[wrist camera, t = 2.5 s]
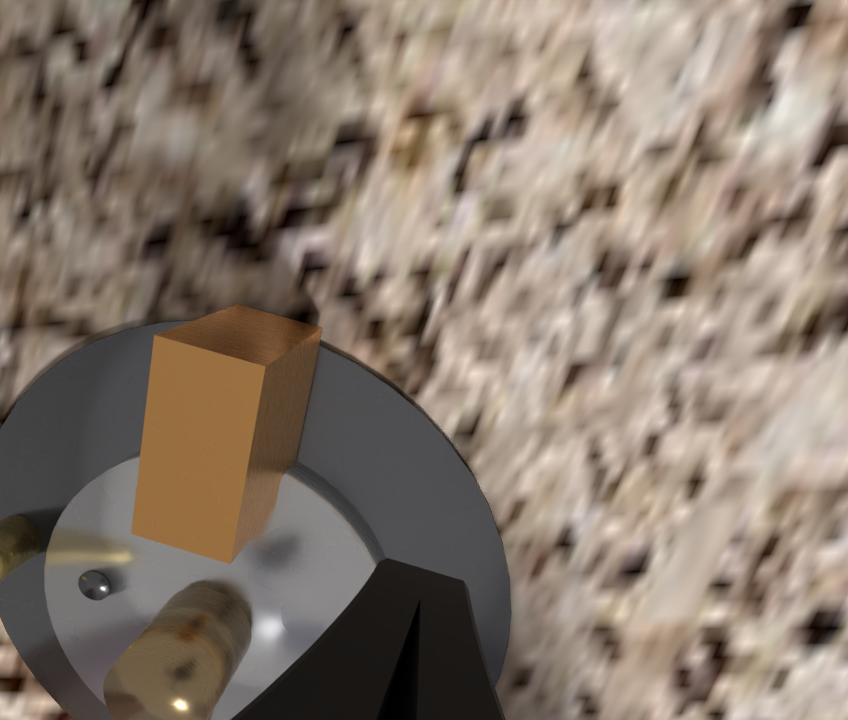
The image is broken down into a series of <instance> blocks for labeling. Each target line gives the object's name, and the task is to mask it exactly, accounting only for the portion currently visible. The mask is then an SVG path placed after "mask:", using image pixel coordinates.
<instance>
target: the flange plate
mask: <svg viewBox="0 0 848 720" xmlns="http://www.w3.org/2000/svg"><path fill="white" fill-rule="evenodd" d="M322 329H323V328H321V327H318V326H314V325H310V324H307V323H303V322H300V321H296V320H292V319H289V318H285V317H282V316H278V315H274V314H271V313H267V312H264V311H260V310H256V309H253V308H249V307H246V306H242V305H238V304H236V305H234V306H231V307H228V308H226V309H223V310H220V311H217V312H215V313H212V314H209V315H207V316H204V317H201V318H199V319H196V320H193V321H191V322H188V323H185V324H182V325H180V326H177V327H174V328H172V329H169V330H166V331H164V332H161V333H158V334H156V335H154V342H153V350H152V359H151V367H150V376H149V384H148V393H147V401H146V410H145V418H144V427H143V436H142V444H141V450H140V451H138V452H136V453H134V454H132V455H130V456H128V457H127V458H125V459H124V460H122V461H121V462H119V463H118V464H116V465H115V466H113V467H112V468H110V469H109V470H107V471H106V472H104V473H103V474H101V475H100V476H98V477H97V478H96V479H94V480H93V481H91V482H90V483H88V484H87V485H86V486H85V487H84V488H83V489H82V490H81V491H80V492H79V493H78V494H77V495H76V496H75V497H74V498H73V499H72V500H71V502H70V503H69V504H68V506H67V507H66V508H65V510H64V511H63V513H62V514H61V516H60V518H59V520H58V522H57V524H56V526H55V528H54V530H53V532H52V536H51V539H50V542H49V545H48V548H47V554H46V561H45V568H44V581H45V595H46V602H47V608H48V612H49V615H50V619H51V622H52V626H53V629H54V631H55V633H56V636H57V638H58V641H59V643H60V645H61V647H62V649H63V651H64V653H65V654H66V656H67V658H68V660H69V662H70V663H71V665H72V666H73V668H74V669H75V671H76V672H77V673H78V675H79V676H80V678H81V679H82V681H83V682H84V683H85V684H86V685H87V686H88V688H89V689H90V690H91V691H92V692H93V693H94V694H95V696H96V697H97V698H98V699H99V700H100V701H101V702H103V703H104V704H105V705H106V703H105V699H104V694H103V684H104V680H105V677H106V675H107V673H108V671H109V670H110V669H111V667H112V666H113V665H114V664H115V663H116V662H117V660H118V659H119V658H120V657H121V656H122V654H123V653H124V652H125V651H126V650H127V649H128V647H129V646H130V645H131V644H132V643H133V642H134V640H135V639H136V638H137V637H138V636H139V634H140V633H141V632H142V631H143V630H144V629H145V627H146V626H147V625H148V624H149V623H150V622H151V620H152V619H153V618H154V617H155V616H156V614H157V613H158V612H159V611H160V610H161V609H162V607H163V606H164V605H165V604H166V603H167V601H168V600H169V599H170V598H171V597H172V596H173V595H174V594H176V593H177V592H179V591H181V590H184V589H187V588H192V587H204V588H209V589H213V590H216V591H219V592H221V593H223V594H225V595H226V596H228V597H229V598H231V599H232V600H233V601H235V602H236V603H237V604H238V605H239V606H240V608H241V609H242V610H243V612H244V613H245V615H246V616H247V619H248V621H249V623H250V627H251V635H252V637H251V644H250V647H249V649H248V651H247V653H246V655H245V656H244V658H243V660H242V662H241V663H240V665H239V667H238V668H237V670H236V672H235V674H234V675H233V677H232V679H231V681H230V682H229V684H228V686H227V688H226V689H225V691H224V693H223V695H222V696H221V698H220V700H219V701H218V703H217V705H216V707H215V708H214V710H213V712H212V714H211V715H210V717H209V719H208V720H230V719H232V718H233V717H234V716H235V715H236V714H238V713H239V712H240V711H241V710H242V709H244V708H245V707H246V706H247V705H248V704H249V703H251V702H252V701H253V700H254V699H255V698H256V697H257V696H259V695H260V694H261V693H262V692H263V691H264V690H265V689H266V688H268V687H269V686H270V685H271V684H272V683H273V682H274V681H275V680H276V679H277V678H278V677H279V676H280V675H281V674H282V673H283V672H284V671H286V670H287V669H288V668H289V667H290V666H291V665H292V664H293V663H294V662H295V661H296V660H297V659H298V658H299V657H300V656H301V655H302V654H303V653H304V652H305V651H306V650H307V649H308V648H309V647H310V646H311V645H312V644H313V643H314V642H315V641H316V640H317V639H318V638H319V637H320V636H321V635H322V634H323V633H324V632H325V630H326V629H327V628H328V627H329V626H330V625H331V624H332V623H333V622H334V621H335V619H336V618H337V617H338V616H339V615H340V614H341V613H342V612H343V611H344V609H345V608H346V607H347V606H348V605H349V603H350V602H351V601H352V600H353V599H354V597H355V596H356V595H357V594H358V592H359V591H360V590H361V588H362V587H363V586H364V584H365V583H366V582H367V580H368V579H369V577H370V576H371V574H372V573H373V571H374V569H375V568H376V566H377V564H378V562H379V561H381V560H384V559H386V557H385V555H384V552H383V550H382V547H381V545H380V544H379V542H378V540H377V538H376V537H375V535H374V533H373V531H372V530H371V528H370V527H369V525H368V524H367V522H366V521H365V520H364V518H363V517H362V516H361V514H360V513H359V512H358V510H357V509H356V508H355V507H354V506H353V505H352V504H351V503H350V502H349V501H348V500H347V499H346V498H345V496H344V495H343V494H342V493H341V492H340V491H338V490H337V489H336V488H335V487H334V486H332V485H331V484H330V483H329V482H328V481H326V480H325V479H324V478H323V477H322V476H320V475H318V474H317V473H315V472H314V471H312V470H311V469H309V468H308V467H306V466H305V465H303V464H302V463H300V462H298V461H296V457H297V452H298V447H299V442H300V437H301V432H302V427H303V422H304V417H305V412H306V408H307V403H308V398H309V393H310V388H311V383H312V378H313V373H314V368H315V363H316V358H317V353H318V348H319V343H320V339H321V334H322ZM106 706H107V705H106Z"/></svg>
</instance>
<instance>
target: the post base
mask: <svg viewBox="0 0 848 720" xmlns="http://www.w3.org/2000/svg"><path fill="white" fill-rule="evenodd" d="M191 321H193V320H184V321H167V322H161V323H156V324H151V325H146V326H141V327H136V328H131V329H128V330H125V331H122V332H119V333H117V334H114V335H111V336H108V337H106V338H103V339H100V340H98V341H95V342H92V343H91V344H89V345H87V346H85V347H84V348H82V349H80V350H78V351H76V352H75V353H73V354H71V355H69V356H67V357H66V358H64V359H63V360H61V361H60V362H59V363H58V364H56V365H55V366H54V367H53V368H51V369H50V370H49V371H47V372H46V373H45V374H44V375H42V376H41V377H40V378H39V379H38V380H37V381H36V382H35V383H34V384H33V385H32V386H31V388H30V389H29V390H28V391H27V392H26V393H25V394H24V395H23V396H22V397H21V399H20V400H19V401H18V402H17V404H16V405H15V407H14V408H13V410H12V411H11V413H10V414H9V416H8V418H7V419H6V421H5V422H4V424H3V425H2V427H1V429H0V618H1V620H2V622H3V625H4V627H5V629H6V632H7V633H8V635H9V637H10V639H11V640H12V642H13V644H14V645H15V647H16V649H17V651H18V652H19V654H20V656H21V658H22V659H23V661H24V662H25V663H26V665H27V666H28V667H29V669H30V670H31V672H32V673H33V674H34V676H35V677H36V679H37V680H38V681H39V683H40V684H41V685H42V686H43V687H44V689H45V690H46V691H47V692H48V693H49V694H50V695H51V696H52V698H53V699H54V700H55V701H56V702H57V703H58V704H59V705H60V707H61V708H62V709H63V710H64V711H66V712H67V713H68V714H69V715H70V716H71V717H72V718H73V719H74V720H208V719H209V717H210V715H211V714H212V712H213V710H214V708H215V707H216V705H217V703H218V701H219V700H220V698H221V696H222V695H223V693H224V691H225V689H226V688H227V686H228V684H229V682H230V681H231V679H232V677H233V675H234V674H235V672H236V670H237V668H238V667H239V665H240V663H241V662H242V660H243V658H244V656H245V655H246V653H247V651H248V649H249V647H250V644H251V637H252V635H251V627H250V623H249V621H248V619H247V616H246V615H245V613H244V612H243V610H242V609H241V608H240V606H239V605H238V604H237V603H236V602H235V601H233V600H232V599H231V598H229V597H228V596H226V595H225V594H223V593H221V592H219V591H216V590H213V589H209V588H204V587H192V588H187V589H184V590H181V591H179V592H177V593H176V594H174V595H173V596H172V597H171V598H170V599H169V600H168V601H167V603H166V604H165V605H164V606H163V607H162V609H161V610H160V611H159V612H158V613H157V614H156V616H155V617H154V618H153V619H152V620H151V622H150V623H149V624H148V625H147V626H146V627H145V629H144V630H143V631H142V632H141V633H140V634H139V636H138V637H137V638H136V639H135V640H134V642H133V643H132V644H131V645H130V646H129V647H128V649H127V650H126V651H125V652H124V653H123V654H122V656H121V657H120V658H119V659H118V660H117V662H116V663H115V664H114V665H113V666H112V667H111V669H110V670H109V671H108V673H107V675H106V677H105V680H104V684H103V694H104V699H105V703H106V705H107V706H106V705H105V704H104V703H103V702H101V701H100V700H99V699H98V698H97V697H96V696H95V694H94V693H93V692H92V691H91V690H90V689H89V688H88V686H87V685H86V684H85V683H84V682H83V681H82V679H81V678H80V676H79V675H78V673H77V672H76V671H75V669H74V668H73V666H72V665H71V663H70V662H69V660H68V658H67V656H66V654H65V653H64V651H63V649H62V647H61V645H60V643H59V641H58V638H57V636H56V633H55V631H54V629H53V626H52V622H51V619H50V615H49V612H48V608H47V602H46V595H45V581H44V568H45V561H46V554H47V548H48V545H49V542H50V539H51V536H52V532H53V530H54V528H55V526H56V524H57V522H58V520H59V518H60V516H61V514H62V513H63V511H64V510H65V508H66V507H67V506H68V504H69V503H70V502H71V500H72V499H73V498H74V497H75V496H76V495H77V494H78V493H79V492H80V491H81V490H82V489H83V488H84V487H85V486H86V485H87V484H88V483H90V482H91V481H93V480H94V479H96V478H97V477H98V476H100V475H101V474H103V473H104V472H106V471H107V470H109V469H110V468H112V467H113V466H115V465H116V464H118V463H119V462H121V461H122V460H124V459H125V458H127V457H128V456H130V455H132V454H134V453H136V452H138V451H140V450H141V444H142V436H143V427H144V418H145V410H146V401H147V393H148V384H149V376H150V367H151V359H152V350H153V342H154V335H156V334H158V333H161V332H164V331H166V330H169V329H172V328H174V327H177V326H180V325H182V324H185V323H188V322H191ZM296 461H298V462H300V463H302V464H303V465H305V466H306V467H308V468H309V469H311V470H312V471H314V472H315V473H317V474H318V475H320V476H322V477H323V478H324V479H325V480H326V481H328V482H329V483H330V484H331V485H332V486H334V487H335V488H336V489H337V490H338V491H340V492H341V493H342V494H343V495H344V496H345V498H346V499H347V500H348V501H349V502H350V503H351V504H352V505H353V506H354V507H355V508H356V509H357V510H358V512H359V513H360V514H361V516H362V517H363V518H364V520H365V521H366V522H367V524H368V525H369V527H370V528H371V530H372V531H373V533H374V535H375V537H376V538H377V540H378V542H379V544H380V545H381V547H382V550H383V552H384V555H385V557H386V558H390V559H393V560H397V561H400V562H403V563H407V564H410V565H413V566H416V567H420V568H423V569H426V570H430V571H433V572H436V573H440V574H443V575H446V576H450V577H453V578H456V579H460V580H463V581H464V582H465V584H466V585H467V587H468V589H469V594H470V600H471V605H472V610H473V614H474V619H475V623H476V627H477V631H478V635H479V638H480V642H481V646H482V649H483V653H484V656H485V659H486V663H487V666H488V669H489V672H490V675H491V678H492V681H493V684H494V687H495V685H496V683H497V681H498V679H499V676H500V673H501V669H502V665H503V662H504V658H505V654H506V651H507V647H508V639H509V629H510V620H511V599H510V579H509V572H508V568H507V563H506V558H505V553H504V548H503V543H502V540H501V537H500V534H499V532H498V529H497V526H496V523H495V520H494V518H493V515H492V512H491V509H490V507H489V505H488V503H487V501H486V499H485V497H484V495H483V494H482V492H481V490H480V488H479V486H478V484H477V482H476V480H475V478H474V476H473V474H472V473H471V472H470V470H469V469H468V467H467V466H466V464H465V463H464V462H463V460H462V459H461V457H460V456H459V454H458V453H457V452H456V450H455V449H454V447H453V446H452V444H451V443H450V442H449V441H448V440H447V438H446V437H445V436H444V435H443V434H442V433H441V432H440V431H439V430H438V429H437V428H436V426H435V425H434V424H433V423H432V422H431V421H430V420H429V419H428V418H427V417H426V415H425V414H424V413H423V412H422V411H420V410H419V409H418V408H417V407H416V406H415V405H413V404H412V403H411V402H410V401H409V400H408V399H406V398H405V397H404V396H403V395H402V394H401V393H399V392H398V391H397V390H396V389H395V388H394V387H392V386H391V385H390V384H388V383H387V382H385V381H384V380H382V379H381V378H379V377H377V376H376V375H374V374H373V373H371V372H370V371H368V370H367V369H365V368H364V367H362V366H361V365H359V364H358V363H356V362H354V361H352V360H350V359H348V358H346V357H344V356H342V355H340V354H338V353H336V352H334V351H332V350H330V349H328V348H326V347H324V346H322V345H320V344H319V348H318V353H317V358H316V363H315V368H314V373H313V378H312V383H311V388H310V393H309V398H308V403H307V408H306V412H305V417H304V422H303V427H302V432H301V437H300V442H299V447H298V452H297V457H296Z"/></svg>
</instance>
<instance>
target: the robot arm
mask: <svg viewBox="0 0 848 720" xmlns="http://www.w3.org/2000/svg"><path fill="white" fill-rule="evenodd" d="M230 720H505V717H504V714H503V711H502V708H501V705H500V702H499V699H498V696H497V693H496V690H495V687H494V684H493V681H492V678H491V675H490V672H489V669H488V666H487V663H486V659H485V656H484V653H483V649H482V646H481V642H480V638H479V635H478V631H477V627H476V623H475V619H474V614H473V610H472V605H471V600H470V594H469V589H468V587H467V585H466V584H465V582H464V581H463V580H460V579H456V578H453V577H450V576H446V575H443V574H440V573H436V572H433V571H430V570H426V569H423V568H420V567H416V566H413V565H410V564H407V563H403V562H400V561H397V560H393V559H390V558H386V559H384V560H381V561H379V562H378V564H377V566H376V568H375V569H374V571H373V573H372V574H371V576H370V577H369V579H368V580H367V582H366V583H365V584H364V586H363V587H362V588H361V590H360V591H359V592H358V594H357V595H356V596H355V597H354V599H353V600H352V601H351V602H350V603H349V605H348V606H347V607H346V608H345V609H344V611H343V612H342V613H341V614H340V615H339V616H338V617H337V618H336V619H335V621H334V622H333V623H332V624H331V625H330V626H329V627H328V628H327V629H326V630H325V632H324V633H323V634H322V635H321V636H320V637H319V638H318V639H317V640H316V641H315V642H314V643H313V644H312V645H311V646H310V647H309V648H308V649H307V650H306V651H305V652H304V653H303V654H302V655H301V656H300V657H299V658H298V659H297V660H296V661H295V662H294V663H293V664H292V665H291V666H290V667H289V668H288V669H287V670H286V671H284V672H283V673H282V674H281V675H280V676H279V677H278V678H277V679H276V680H275V681H274V682H273V683H272V684H271V685H270V686H269V687H268V688H266V689H265V690H264V691H263V692H262V693H261V694H260V695H259V696H257V697H256V698H255V699H254V700H253V701H252V702H251V703H249V704H248V705H247V706H246V707H245V708H244V709H242V710H241V711H240V712H239V713H238V714H236V715H235V716H234V717H233V718H232V719H230Z"/></svg>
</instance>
